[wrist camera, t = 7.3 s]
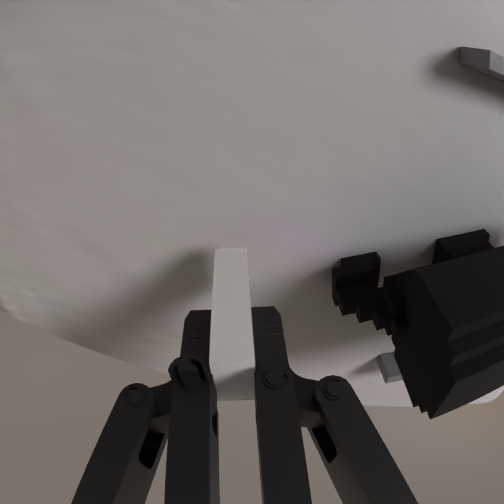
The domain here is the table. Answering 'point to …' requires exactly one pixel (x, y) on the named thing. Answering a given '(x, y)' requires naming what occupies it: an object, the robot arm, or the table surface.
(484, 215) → the table surface
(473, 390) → the security camera
